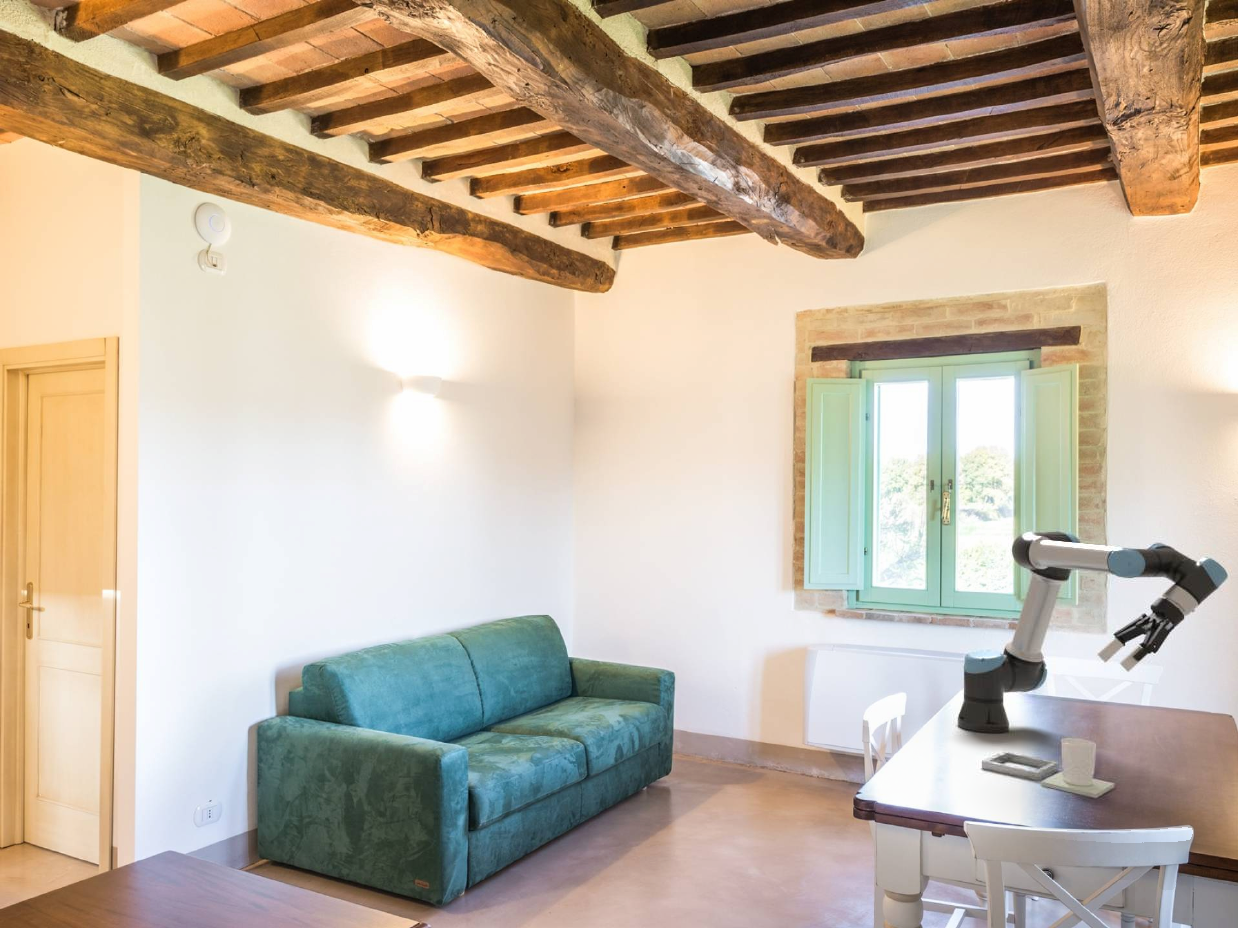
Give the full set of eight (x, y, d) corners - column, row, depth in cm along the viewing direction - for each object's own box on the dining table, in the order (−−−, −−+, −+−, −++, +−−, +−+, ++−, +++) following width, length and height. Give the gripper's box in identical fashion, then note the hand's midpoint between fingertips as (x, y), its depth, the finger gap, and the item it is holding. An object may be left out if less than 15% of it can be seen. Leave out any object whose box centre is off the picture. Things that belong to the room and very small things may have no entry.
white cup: (1092, 779, 241) (1093, 739, 241) (1098, 788, 234) (1098, 747, 234) (1058, 775, 244) (1059, 736, 244) (1062, 784, 236) (1063, 744, 236)
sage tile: (1041, 785, 239) (1041, 781, 239) (1060, 775, 248) (1060, 771, 248) (1096, 797, 229) (1096, 793, 229) (1114, 787, 239) (1114, 783, 239)
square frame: (981, 768, 253) (981, 760, 253) (1004, 758, 263) (1004, 751, 263) (1037, 780, 242) (1037, 772, 243) (1058, 770, 253) (1058, 762, 253)
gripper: (1209, 623, 234) (1145, 682, 235) (1160, 611, 259) (1102, 664, 260) (1186, 601, 234) (1122, 660, 235) (1140, 591, 259) (1082, 644, 260)
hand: (1112, 662), depth 247 cm, fingers open, 13 cm apart
